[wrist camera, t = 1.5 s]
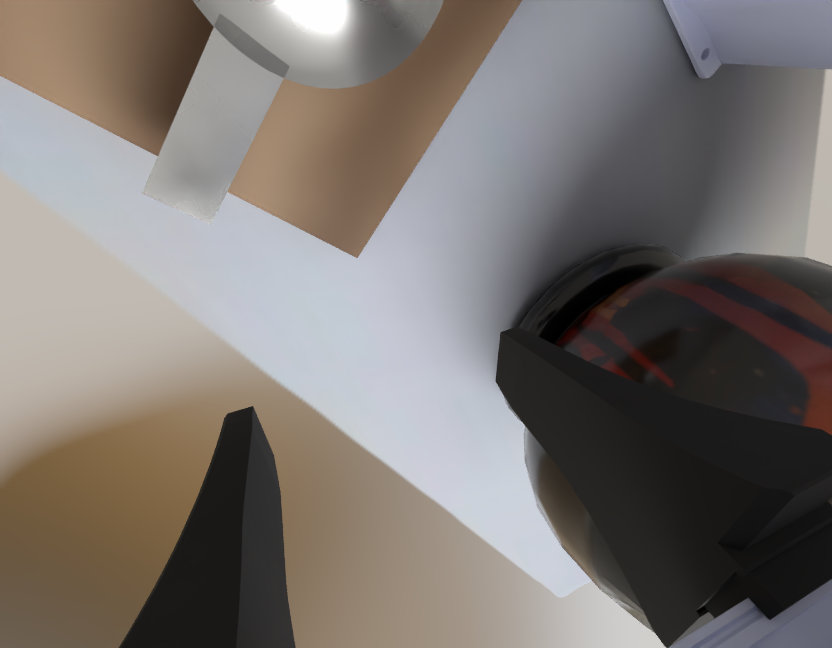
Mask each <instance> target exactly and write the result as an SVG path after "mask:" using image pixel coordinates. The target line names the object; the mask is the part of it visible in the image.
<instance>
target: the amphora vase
mask: <svg viewBox="0 0 832 648" xmlns="http://www.w3.org/2000/svg"><path fill="white" fill-rule="evenodd" d="M519 328H521V329H524V330H526V331H528V332H530V333H532V334H534V335H536V336H538V337H540V338H542V339H544V340H546V341H548V342H550V343H552V344H554V345H556V346H558V347H560V348H562V349H564V350H566V351H568V352H570V353H572V354H574V355H576V356H578V357H580V358H582V359H585V360H587V361H589V362H591V363H593V364H595V365H597V366H600V367H602V368H604V369H606V370H609V371H611V372H613V373H616V374H618V375H620V376H623V377H625V378H628V379H630V380H633V381H635V382H638V383H641V384H643V385H646V386H649V387H652V388H654V389H657V390H660V391H663V392H666V393H669V394H672V395H675V396H678V397H681V398H685V399H688V400H692V401H695V402H698V403H702V404H705V405H709V406H713V407H716V408H720V409H724V410H728V411H732V412H737V413H741V414H745V415H750V416H754V417H759V418H763V419H768V420H773V421H779V422H785V423H790V424H796V425H801V426H807V427H812V428H818V429H822V430H824V431H825V432H827V433H829V434H830V435H832V266H830V265H827V264H824V263H821V262H818V261H815V260H812V259H809V258H805V257H792V256H779V255H766V254H747V253H732V254H724V255H716V256H709V257H701V258H697V259H693V260H690V261H686V262H683V260H682V259H681V257H680V256H679V255H678V254H676V253H674V252H672V251H670V250H668V249H667V248H665V247H662V246H659V245H652V244H631V245H627V246H623V247H619V248H615V249H612V250H608V251H605V252H602V253H600V254H599V255H597V256H595V257H593V258H591V259H589V260H587V261H585V262H583V263H582V264H580V265H578V266H576V267H575V268H573V269H572V270H571V271H570V272H568V273H567V274H566V275H565V276H563V277H562V278H561V279H560V280H558V281H557V282H556V283H554V284H553V285H552V286H551V287H550V288H549V289H548V290H547V291H546V292H545V293H544V294H543V296H542V297H541V298H540V299H539V300H538V301H537V302H536V303H535V304H534V305H533V307H532V308H531V309H530V310H529V311H528V313H527V315H526V316H525V318H524V319H523V321H522V323H521V324H520V326H519ZM504 398H505V397H504ZM505 401H506V404H507V405H508V407H509V409H510V410H511V411H512V412H513V413H514V415H515V416H516V417H517V418H518V419H519V420H520V418H519V417H518V416H517V415H516V413H515V412H514V411H513V409H512V408H511V406H510V405H509V403H508V401H507V400H506V398H505ZM520 421H521V420H520ZM524 453H525V463H526V467H527V471H528V476H529V480H530V483H531V486H532V490H533V493H534V497H535V500H536V504H537V507H538V509H539V511H540V512H541V514H542V515H543V517H544V519H545V520H546V522H547V524H548V525H549V527H550V528H551V530H552V532H553V533H554V535H555V537H556V538H557V540H558V541H559V543H560V545H561V546H562V548H563V549H564V550H565V551H566V552H567V553H568V554H569V555H570V556H571V558H572V559H573V560H574V561H575V562H576V563H577V564H578V565H579V566H580V568H581V569H582V570H583V571H584V572H585V573H586V574H587V575H588V576H589V577H590V579H591V580H592V581H593V582H594V583H595V584H596V585H597V586H598V587H599V589H600V590H602V591H603V592H604V593H605V594H607V595H608V596H609V597H610V598H611V599H613V600H614V601H615V602H616V603H618V604H619V605H620V606H621V607H622V608H624V609H625V610H626V611H627V612H629V613H630V614H631V615H632V616H633V617H635V618H636V619H637V620H638V621H640V622H641V623H642V624H643V625H645V626H646V627H647V628H649V629H650V630H652V631H653V629H652V628H651V626H650V624H649V622H648V620H647V618H646V616H645V613H644V611H643V609H642V607H641V606H640V604H639V602H638V600H637V598H636V596H635V594H634V592H633V590H632V588H631V587H630V585H629V583H628V581H627V579H626V577H625V575H624V573H623V571H622V570H621V568H620V566H619V564H618V563H617V561H616V559H615V557H614V556H613V554H612V552H611V550H610V549H609V547H608V545H607V543H606V541H605V540H604V538H603V536H602V535H601V533H600V531H599V530H598V528H597V526H596V525H595V523H594V521H593V520H592V518H591V516H590V515H589V513H588V512H587V510H586V508H585V507H584V505H583V504H582V502H581V500H580V499H579V497H578V496H577V494H576V493H575V491H574V490H573V488H572V486H571V485H570V483H569V482H568V480H567V479H566V477H565V476H564V475H563V473H562V472H561V471H560V469H559V468H558V466H557V465H556V464H555V463H554V461H553V460H552V459H551V458H550V456H549V455H548V454H547V453H546V451H545V450H544V449H543V447H542V446H541V445H540V444H539V442H538V441H537V440H536V439H535V437H534V436H533V435H532V434H531V432H530V431H529V430H528V429H527V427H526V426H525V430H524ZM827 502H829V503H830V504H831V505H832V497H831V498H830V499H829V500H828V501H827ZM653 632H654V631H653ZM654 633H655V632H654Z"/></svg>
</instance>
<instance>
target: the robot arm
mask: <svg viewBox="0 0 832 648" xmlns="http://www.w3.org/2000/svg"><path fill="white" fill-rule="evenodd" d="M663 2H664V4H665V6H666V8H667V10H668V12H669V14H670V17H671V19H672V21H673V23H674V25H675V27H676V30H677V32H678V34H679V36H680V38H681V40H682V43H683V45H684V47H685V49H686V51H687V53H688V56H689V58H690V60H691V62H692V64H693V66H694V68H695V71H696V73H697V75H698V77H699V78H705V79H708V78H710V77H711V76H712V75H713V74H714V73H715V72H716V70H717V69H718V68H719V67H720V65H721V64H722V63H723V64H742V65H761V66H779V67H798V68H816V69H832V0H663ZM496 383H497V384H498V386H499V388H500V390H501V391H502V393H503V395H504V397H505V398H506V400H507V401H508V403H509V405H510V406H511V408H512V409H513V411H514V412H515V413H516V415H517V416H518V417H519V418H520V420H521V421H522V422H523V424H524V425H525V426H526V427H527V429H528V430H529V431H530V432H531V434H532V435H533V436H534V437H535V439H536V440H537V441H538V442H539V444H540V445H541V446H542V447H543V449H544V450H545V451H546V453H547V454H548V455H549V456H550V458H551V459H552V460H553V461H554V463H555V464H556V465H557V466H558V468H559V469H560V471H561V472H562V473H563V475H564V476H565V477H566V479H567V480H568V482H569V483H570V485H571V486H572V488H573V490H574V491H575V493H576V494H577V496H578V497H579V499H580V500H581V502H582V504H583V505H584V507H585V508H586V510H587V512H588V513H589V515H590V516H591V518H592V520H593V521H594V523H595V525H596V526H597V528H598V530H599V531H600V533H601V535H602V536H603V538H604V540H605V541H606V543H607V545H608V547H609V549H610V550H611V552H612V554H613V556H614V557H615V559H616V561H617V563H618V564H619V566H620V568H621V570H622V571H623V573H624V575H625V577H626V579H627V581H628V583H629V585H630V587H631V588H632V590H633V592H634V594H635V596H636V598H637V600H638V602H639V604H640V606H641V607H642V609H643V611H644V613H645V616H646V618H647V620H648V622H649V624H650V626H651V628H652V629H653V631H654V632H655V633H656V635H657V636H658V637H659V639H660V640H661V642H662V643H663V644H664V646H665V647H666V648H832V505H831V504H830V503H829V502H827V501H828V500H829V499H830V498H831V497H832V435H830V434H829V433H827V432H825V431H824V430H822V429H818V428H812V427H807V426H801V425H796V424H790V423H785V422H779V421H773V420H768V419H763V418H759V417H754V416H750V415H745V414H741V413H737V412H732V411H728V410H724V409H720V408H716V407H713V406H709V405H705V404H702V403H698V402H695V401H692V400H688V399H685V398H681V397H678V396H675V395H672V394H669V393H666V392H663V391H660V390H657V389H654V388H652V387H649V386H646V385H643V384H641V383H638V382H635V381H633V380H630V379H628V378H625V377H623V376H620V375H618V374H616V373H613V372H611V371H609V370H606V369H604V368H602V367H600V366H597V365H595V364H593V363H591V362H589V361H587V360H585V359H582V358H580V357H578V356H576V355H574V354H572V353H570V352H568V351H566V350H564V349H562V348H560V347H558V346H556V345H554V344H552V343H550V342H548V341H546V340H544V339H542V338H540V337H538V336H536V335H534V334H532V333H530V332H528V331H526V330H524V329H521V328H519V327H517V328H513V329H510V330H506V331H503V332H501V334H500V343H499V353H498V363H497V372H496ZM119 648H295V642H294V637H293V629H292V623H291V616H290V610H289V603H288V596H287V586H286V574H285V557H284V541H283V524H282V509H281V495H280V487H279V481H278V476H277V470H276V465H275V459H274V455H273V452H272V450H271V448H270V445H269V443H268V441H267V438H266V436H265V434H264V431H263V429H262V426H261V424H260V422H259V419H258V417H257V414H256V412H255V410H254V408H253V406H252V407H248V408H245V409H242V410H238V411H235V412H232V413H228V414H227V415H226V417H225V418H224V422H223V425H222V429H221V432H220V436H219V439H218V442H217V446H216V448H215V451H214V454H213V457H212V460H211V463H210V466H209V468H208V471H207V474H206V476H205V479H204V481H203V484H202V487H201V489H200V492H199V495H198V497H197V499H196V502H195V504H194V506H193V509H192V511H191V513H190V515H189V518H188V520H187V522H186V524H185V527H184V529H183V531H182V533H181V535H180V538H179V540H178V542H177V544H176V546H175V548H174V550H173V552H172V554H171V556H170V558H169V560H168V562H167V564H166V566H165V568H164V570H163V572H162V574H161V575H160V577H159V579H158V581H157V583H156V585H155V587H154V588H153V590H152V592H151V594H150V596H149V597H148V599H147V601H146V602H145V604H144V606H143V608H142V610H141V611H140V613H139V615H138V617H137V618H136V620H135V622H134V624H133V625H132V627H131V629H130V630H129V632H128V634H127V635H126V637H125V639H124V640H123V642H122V643H121V645H120V647H119Z"/></svg>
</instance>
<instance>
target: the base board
mask: <svg viewBox="0 0 832 648" xmlns="http://www.w3.org/2000/svg"><path fill="white" fill-rule="evenodd" d="M521 1H522V0H444V2H443V4H442V7H441V9H440V11H439V13H438V15H437V17H436V19H435V21H434V23H433V25H432V27H431V29H430V30H429V32H428V33H427V35H426V36H425V38H424V39H423V41H422V42H421V43H420V44H419V46H418V47H417V48H416V49H415V50H414V51H413V53H412V54H411V55H410V56H409V57H408V58H407V59H405V60H404V61H403V62H402V63H401V64H400V65H399V66H398V67H396V68H395V69H393V70H392V71H390V72H389V73H387V74H385V75H384V76H382V77H380V78H378V79H375V80H373V81H371V82H369V83H365V84H362V85H358V86H355V87H348V88H339V89H331V88H317V87H312V86H306V85H302V84H299V83H296V82H293V81H290V80H287V79H283V81H282V83H281V85H280V87H279V89H278V91H277V93H276V95H275V97H274V99H273V101H272V103H271V105H270V107H269V109H268V111H267V113H266V115H265V117H264V119H263V121H262V123H261V125H260V127H259V129H258V131H257V133H256V135H255V137H254V139H253V141H252V143H251V145H250V147H249V149H248V151H247V153H246V155H245V157H244V159H243V161H242V163H241V165H240V167H239V169H238V171H237V173H236V175H235V177H234V179H233V181H232V183H231V185H230V187H229V189H228V191H227V192H229V193H231V194H233V195H235V196H237V197H239V198H241V199H243V200H245V201H247V202H248V203H250V204H252V205H254V206H256V207H258V208H260V209H262V210H264V211H266V212H268V213H270V214H272V215H274V216H276V217H278V218H280V219H282V220H284V221H286V222H288V223H290V224H292V225H294V226H295V227H297V228H299V229H301V230H303V231H305V232H307V233H309V234H311V235H313V236H315V237H317V238H319V239H321V240H323V241H325V242H327V243H329V244H331V245H333V246H335V247H337V248H339V249H340V250H342V251H344V252H346V253H348V254H350V255H352V256H354V257H356V258H358V256H359V255H360V253H361V252H362V250H363V248H364V247H365V245H366V244H367V242H368V241H369V239H370V237H371V236H372V234H373V233H374V231H375V230H376V228H377V226H378V225H379V223H380V222H381V220H382V219H383V217H384V216H385V214H386V212H387V211H388V209H389V208H390V206H391V205H392V203H393V201H394V200H395V198H396V197H397V195H398V194H399V192H400V190H401V189H402V187H403V186H404V184H405V183H406V181H407V179H408V178H409V176H410V175H411V173H412V172H413V170H414V169H415V167H416V165H417V164H418V162H419V161H420V159H421V158H422V156H423V154H424V153H425V151H426V150H427V148H428V147H429V145H430V143H431V142H432V140H433V139H434V137H435V136H436V134H437V132H438V131H439V129H440V128H441V126H442V125H443V123H444V122H445V120H446V118H447V117H448V115H449V114H450V112H451V111H452V109H453V107H454V106H455V104H456V103H457V101H458V100H459V98H460V96H461V95H462V93H463V92H464V90H465V89H466V87H467V85H468V84H469V82H470V81H471V79H472V78H473V76H474V75H475V73H476V71H477V70H478V68H479V67H480V65H481V64H482V62H483V60H484V59H485V57H486V56H487V54H488V53H489V51H490V49H491V48H492V46H493V45H494V43H495V42H496V40H497V39H498V37H499V35H500V34H501V32H502V31H503V29H504V28H505V26H506V24H507V23H508V21H509V20H510V18H511V17H512V15H513V13H514V12H515V10H516V9H517V7H518V6H519V4H520V2H521ZM213 28H214V27H213V25H212V24H211V23H210V22H209V21H208V19H207V18H206V17H205V16H204V14H203V13H202V12H201V11H200V10H199V8H198V7H197V6H196V4H195V3H194V1H193V0H0V76H2V77H4V78H6V79H8V80H10V81H12V82H14V83H16V84H18V85H20V86H21V87H23V88H25V89H27V90H29V91H31V92H33V93H35V94H37V95H39V96H41V97H43V98H45V99H47V100H49V101H51V102H53V103H55V104H57V105H59V106H61V107H63V108H65V109H66V110H68V111H70V112H72V113H74V114H76V115H78V116H80V117H82V118H84V119H86V120H88V121H90V122H92V123H94V124H96V125H98V126H100V127H102V128H104V129H106V130H108V131H110V132H111V133H113V134H115V135H117V136H119V137H121V138H123V139H125V140H127V141H129V142H131V143H133V144H135V145H137V146H139V147H141V148H143V149H145V150H147V151H149V152H151V153H153V154H155V155H157V156H158V155H159V153H160V151H161V148H162V146H163V144H164V141H165V139H166V137H167V134H168V132H169V130H170V127H171V125H172V123H173V121H174V118H175V116H176V114H177V111H178V109H179V107H180V104H181V102H182V100H183V97H184V95H185V93H186V90H187V88H188V86H189V83H190V81H191V79H192V76H193V74H194V72H195V70H196V67H197V65H198V63H199V60H200V58H201V56H202V53H203V51H204V49H205V46H206V44H207V42H208V39H209V37H210V35H211V32H212V30H213Z"/></svg>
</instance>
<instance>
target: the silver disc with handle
mask: <svg viewBox="0 0 832 648" xmlns="http://www.w3.org/2000/svg"><path fill="white" fill-rule="evenodd" d="M193 1H194V3H195V4H196V6H197V7H198V8H199V10H200V11H201V12H202V13H203V14H204V16H205V17H206V18H207V19H208V21H209V22H210V23H211V24H212V25H213V27H214V28H213V30H212V32H211V35H210V37H209V39H208V42H207V44H206V46H205V49H204V51H203V53H202V56H201V58H200V60H199V63H198V65H197V67H196V70H195V72H194V74H193V76H192V79H191V81H190V83H189V86H188V88H187V90H186V93H185V95H184V97H183V100H182V102H181V104H180V107H179V109H178V111H177V114H176V116H175V118H174V121H173V123H172V125H171V127H170V130H169V132H168V134H167V137H166V139H165V141H164V144H163V146H162V148H161V151H160V153H159V155H158V158H157V160H156V162H155V165H154V167H153V169H152V171H151V174H150V176H149V178H148V181H147V183H146V185H145V188H144V190H143V192H142V194H144V195H147V196H149V197H151V198H153V199H155V200H158V201H160V202H162V203H164V204H166V205H169V206H171V207H173V208H175V209H178V210H180V211H182V212H184V213H186V214H189V215H191V216H193V217H195V218H197V219H200V220H202V221H204V222H206V223H208V224H211V223H212V221H213V219H214V217H215V215H216V213H217V211H218V209H219V207H220V205H221V203H222V201H223V199H224V197H225V195H226V193H227V191H228V189H229V187H230V185H231V183H232V181H233V179H234V177H235V175H236V173H237V171H238V169H239V167H240V165H241V163H242V161H243V159H244V157H245V155H246V153H247V151H248V149H249V147H250V145H251V143H252V141H253V139H254V137H255V135H256V133H257V131H258V129H259V127H260V125H261V123H262V121H263V119H264V117H265V115H266V113H267V111H268V109H269V107H270V105H271V103H272V101H273V99H274V97H275V95H276V93H277V91H278V89H279V87H280V85H281V83H282V81H283V79H287V80H290V81H293V82H296V83H299V84H302V85H306V86H312V87H317V88H331V89H339V88H348V87H355V86H358V85H362V84H365V83H369V82H371V81H373V80H375V79H378V78H380V77H382V76H384V75H385V74H387V73H389V72H390V71H392V70H393V69H395V68H396V67H398V66H399V65H400V64H401V63H402V62H403V61H404V60H405V59H407V58H408V57H409V56H410V55H411V54H412V53H413V51H414V50H415V49H416V48H417V47H418V46H419V44H420V43H421V42H422V41H423V39H424V38H425V36H426V35H427V33H428V32H429V30H430V29H431V27H432V25H433V23H434V21H435V19H436V17H437V15H438V13H439V11H440V9H441V7H442V4H443V2H444V0H193Z"/></svg>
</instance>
